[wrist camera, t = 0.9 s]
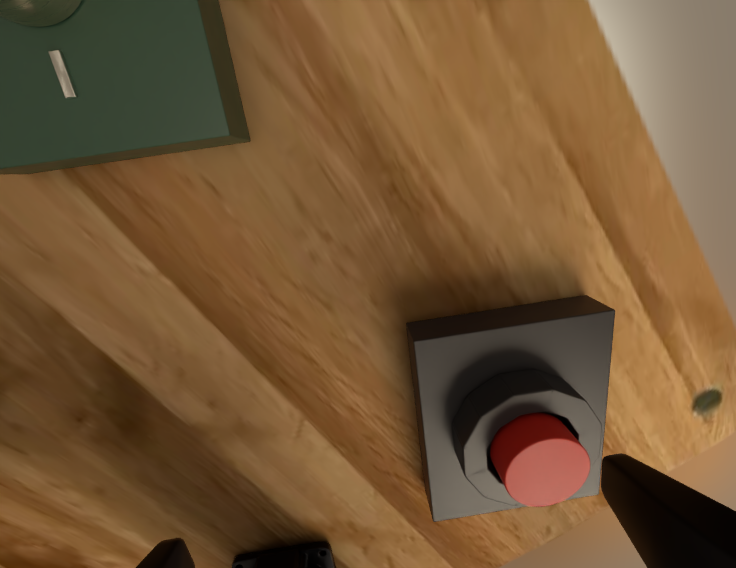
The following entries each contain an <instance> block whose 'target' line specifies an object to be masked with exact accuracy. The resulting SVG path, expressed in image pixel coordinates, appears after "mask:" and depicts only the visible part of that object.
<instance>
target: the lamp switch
mask: <svg viewBox="0 0 736 568" xmlns="http://www.w3.org/2000/svg"><path fill="white" fill-rule="evenodd" d="M614 317H615V310H614V309H612V308H610V307H608V306H606V305H604V304H602V303H600V302H599V301H597V300H595V299H593V298H591V297H589V296H587V295H584V296H578V297H571V298H565V299H558V300H552V301H545V302H539V303H533V304H526V305H520V306H513V307H507V308H500V309H494V310H487V311H481V312H475V313H468V314H462V315H455V316H449V317H442V318H436V319H430V320H423V321H417V322H410V323H406V327H407V336H408V345H409V353H410V362H411V371H412V379H413V388H414V397H415V405H416V414H417V423H418V431H419V440H420V449H421V457H422V466H423V475H424V483H425V491H426V495H427V499H428V503H429V507H430V511H431V515H432V519H433V521H434V522H436V521H442V520H448V519H454V518H460V517H466V516H472V515H478V514H484V513H490V512H496V511H502V510H508V509H514V508H520V507H526V506H527V505H524V504H521V503H519V502H517V501H516V500H515V499H513V498H512V497H511V496H510V495H509V493H508V492H507V490H506V488H505V486H504V484H503V482H502V480H501V478H500V476H499V474H498V472H497V470H496V468H495V466H494V464H493V462H492V460H491V456H490V447H491V443H492V440H493V438H494V436H495V434H496V433H497V432H498V430H499V429H500V428H501V427H503V426H504V425H506V424H507V423H509V422H510V421H512V420H514V419H515V418H517V417H518V416H520V415H524V414H530V413H545V414H549V415H552V416H554V417H556V418H558V419H559V420H560V421H561V422H562V423H563V424H564V425H565V426H566V427H567V428H568V430H569V431H570V432H571V433H572V434H573V435H574V437H575V438H576V439H577V440H578V441H579V442H580V444H581V445H582V446H583V447H584V448H585V449H586V451H587V453H588V455H589V458H590V471H589V475H588V477H587V479H586V481H585V482H584V484H583V485H582V487H581V488H580V489H579V490H578V491H577V492H576V493H574V494H573V495H572V496H570V497H569V498H567V499H565V500H569V499H575V498H581V497H587V496H593V495H598V494H599V485H600V474H601V463H602V452H603V440H604V429H605V418H606V407H607V396H608V384H609V373H610V362H611V351H612V340H613V328H614Z"/></svg>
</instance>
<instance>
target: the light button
mask: <svg viewBox="0 0 736 568" xmlns="http://www.w3.org/2000/svg"><path fill="white" fill-rule="evenodd" d="M490 456H491V460H492V462H493V464H494V466H495V468H496V470H497V472H498V474H499V476H500V478H501V480H502V482H503V484H504V486H505V488H506V490H507V492H508V493H509V495H510V496H511V497H512V498H513V499H515V500H516V501H517V502H519V503H521V504H524V505H527V506H534V507H543V506H549V505H553V504H556V503H559V502H561V501H564V500H565V499H567V498H569V497H570V496H572V495H573V494H574V493H576V492H577V491H578V490H579V489H580V488H581V487H582V485H583V484H584V482H585V481H586V479H587V477H588V475H589V471H590V458H589V455H588V453H587V451H586V449H585V448H584V447H583V446H582V445H581V444H580V442H579V441H578V440H577V439H576V438H575V437H574V435H573V434H572V433H571V432H570V431H569V430H568V428H567V427H566V426H565V425H564V424H563V423H562V422H561V421H560V420H559V419H558V418H556V417H554V416H552V415H549V414H545V413H530V414H524V415H520V416H518V417H517V418H515V419H514V420H512V421H510V422H509V423H507V424H506V425H504V426H503V427H501V428H500V429H499V430H498V432H497V433H496V434H495V436H494V438H493V440H492V443H491V447H490Z"/></svg>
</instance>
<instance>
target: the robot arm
mask: <svg viewBox="0 0 736 568" xmlns="http://www.w3.org/2000/svg"><path fill="white" fill-rule="evenodd" d="M601 488H602V492H603V494H604V497H605V498H606V500H607V502H608V504H609V505H610V507H611V508H612V510H613V512H614V513H615V515H616V516H617V518H618V520H619V522H620V523H621V525H622V527H623V528H624V530H625V531H626V533H627V535H628V537H629V538H630V540H631V542H632V543H633V545H634V546H635V548H636V550H637V551H638V553H639V555H640V556H641V558H642V560H643V561H644V563H645V564H646V566H647V568H736V511H734V510H732V509H730V508H728V507H726V506H725V505H723V504H721V503H719V502H716V501H715V500H713V499H711V498H709V497H707V496H705V495H703V494H701V493H699V492H697V491H696V490H694V489H692V488H690V487H688V486H686V485H684V484H682V483H680V482H678V481H676V480H674V479H672V478H671V477H669V476H667V475H665V474H663V473H661V472H659V471H657V470H655V469H653V468H651V467H650V466H648V465H646V464H644V463H642V462H640V461H638V460H636V459H634V458H632V457H630V456H628V455H626V454H615V455H609V456H606V457H604V458H603V460H602V475H601ZM136 568H195V565H194V562H193V559H192V557H191V555H190V553H189V550H188V548H187V546H186V544H185V542H184V540H183V539H181V538H174V539H169V540H164V541H162V542H160V543H159V544H157V545H156V546H155V547H154V548H153V550H152V551H151V552H150V553H149V554H148V555H147V556H146V557H145V558H144V559H143V560H142V561H141V562H140V563H139V565H138V566H137V567H136ZM232 568H336V566H335V562H334V558H333V554H332V550H331V546H330V544H329V543H327V542H318V543H312V544H306V545H300V546H294V547H288V548H282V549H275V550H269V551H263V552H257V553H251V554H245V555H239V556H236V557H235V558H234V560H233V564H232Z"/></svg>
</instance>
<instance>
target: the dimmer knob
mask: <svg viewBox="0 0 736 568" xmlns="http://www.w3.org/2000/svg"><path fill="white" fill-rule="evenodd" d="M80 2H81V0H0V16H1V17H3V18H5V19H7V20H10V21H12V22H15V23H18V24H21V25H26V26H33V27H43V26H50V25H54V24H57V23H59V22H61V21H63V20H65V19H66V18H68V17H69V16H70V15H71V14H72V13H73V12H74V11H75V10H76V8H77V7H78V6H79V4H80Z"/></svg>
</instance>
